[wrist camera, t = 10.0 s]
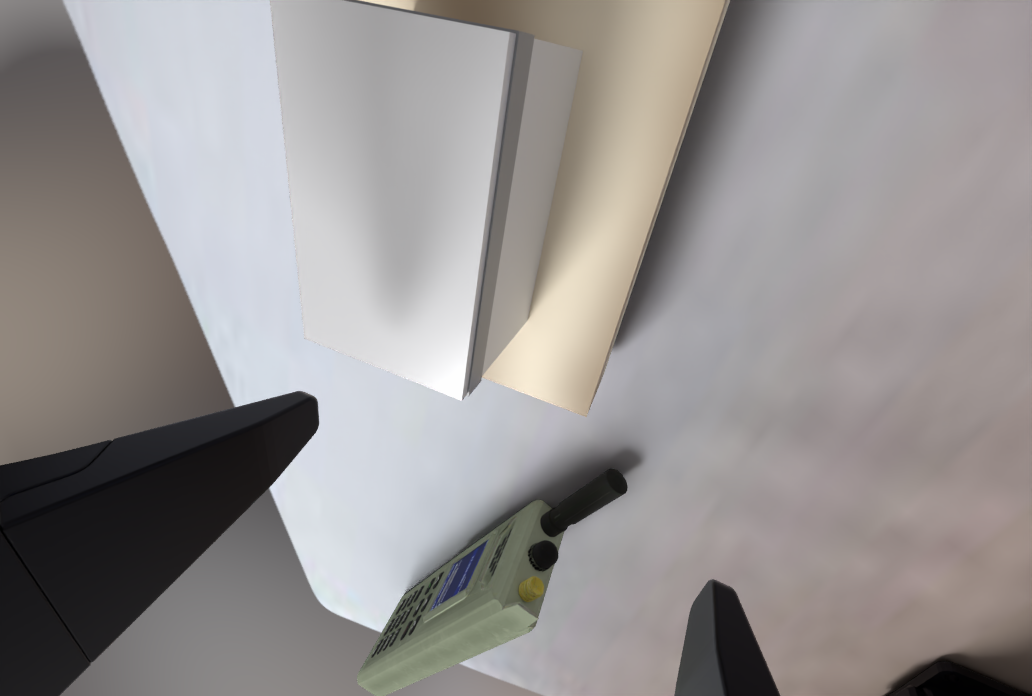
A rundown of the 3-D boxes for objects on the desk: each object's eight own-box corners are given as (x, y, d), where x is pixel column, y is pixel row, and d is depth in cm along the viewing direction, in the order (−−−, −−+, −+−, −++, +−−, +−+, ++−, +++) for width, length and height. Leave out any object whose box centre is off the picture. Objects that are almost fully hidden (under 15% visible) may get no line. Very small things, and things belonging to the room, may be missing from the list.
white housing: (585, 48, 12) (512, 28, 8) (528, 322, 16) (462, 403, 12) (410, 15, 13) (266, -18, 9) (401, 279, 17) (303, 339, 13)
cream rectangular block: (747, -46, 13) (756, -92, 9) (607, 363, 20) (586, 417, 17) (401, -93, 15) (314, -143, 12) (392, 288, 23) (337, 322, 19)
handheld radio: (398, 589, 37) (596, 439, 23) (430, 613, 38) (646, 480, 23) (347, 677, 32) (562, 554, 17) (385, 705, 32) (629, 605, 18)
